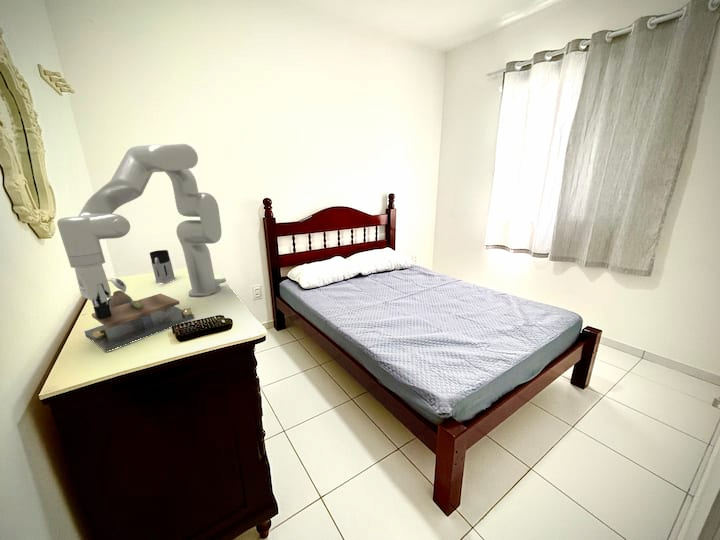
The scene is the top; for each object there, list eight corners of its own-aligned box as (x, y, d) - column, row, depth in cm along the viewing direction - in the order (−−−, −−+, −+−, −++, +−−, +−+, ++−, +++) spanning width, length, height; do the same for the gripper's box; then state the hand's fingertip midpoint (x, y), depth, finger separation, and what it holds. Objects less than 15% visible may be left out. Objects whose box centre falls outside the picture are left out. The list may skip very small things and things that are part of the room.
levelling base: (168, 307, 113) (165, 294, 111) (194, 318, 102) (191, 304, 101) (85, 335, 93) (80, 320, 91) (107, 352, 83) (101, 335, 81)
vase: (110, 318, 104) (102, 296, 101) (115, 311, 110) (108, 290, 107) (133, 314, 107) (127, 292, 104) (137, 307, 113) (131, 286, 110)
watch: (128, 305, 116) (120, 279, 112) (103, 309, 113) (94, 282, 109) (132, 300, 121) (125, 275, 117) (108, 304, 117) (100, 278, 114)
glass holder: (177, 277, 150) (170, 249, 145) (172, 285, 137) (165, 255, 133) (157, 279, 146) (150, 251, 142) (151, 288, 134) (142, 257, 129)
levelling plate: (161, 297, 108) (159, 289, 107) (180, 305, 100) (178, 296, 99) (92, 318, 92) (89, 309, 91) (108, 329, 84) (105, 319, 83)
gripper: (62, 259, 84) (80, 316, 90) (77, 266, 76) (97, 328, 82) (95, 254, 90) (110, 308, 96) (112, 259, 82) (128, 318, 88)
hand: (104, 317), depth 89 cm, fingers closed
